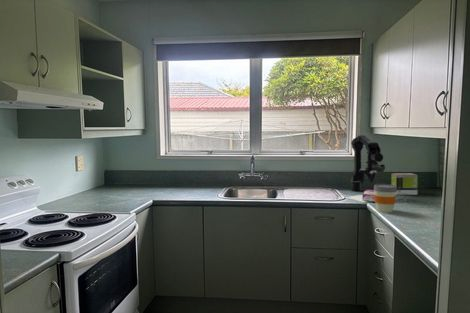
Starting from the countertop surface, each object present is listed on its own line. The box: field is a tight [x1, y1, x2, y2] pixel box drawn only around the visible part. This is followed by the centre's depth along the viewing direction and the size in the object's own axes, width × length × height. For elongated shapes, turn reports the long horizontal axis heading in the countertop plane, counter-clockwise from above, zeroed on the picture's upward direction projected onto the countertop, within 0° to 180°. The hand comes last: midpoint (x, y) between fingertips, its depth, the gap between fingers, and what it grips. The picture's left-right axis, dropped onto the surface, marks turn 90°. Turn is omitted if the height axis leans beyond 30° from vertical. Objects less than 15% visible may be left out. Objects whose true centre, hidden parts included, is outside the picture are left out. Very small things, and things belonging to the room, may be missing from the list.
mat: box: [344, 194, 371, 203], centre depth 228 cm, size 16×16×1 cm
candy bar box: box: [362, 189, 376, 203], centre depth 224 cm, size 11×5×16 cm
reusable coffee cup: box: [373, 183, 397, 214], centre depth 196 cm, size 13×13×15 cm
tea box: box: [390, 172, 419, 196], centre depth 244 cm, size 15×10×15 cm
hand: (371, 182), depth 231 cm, fingers closed
